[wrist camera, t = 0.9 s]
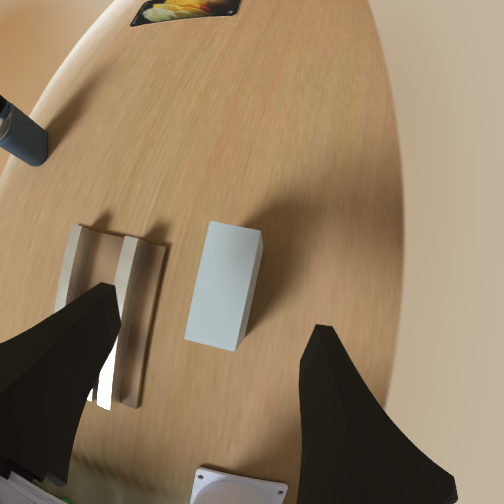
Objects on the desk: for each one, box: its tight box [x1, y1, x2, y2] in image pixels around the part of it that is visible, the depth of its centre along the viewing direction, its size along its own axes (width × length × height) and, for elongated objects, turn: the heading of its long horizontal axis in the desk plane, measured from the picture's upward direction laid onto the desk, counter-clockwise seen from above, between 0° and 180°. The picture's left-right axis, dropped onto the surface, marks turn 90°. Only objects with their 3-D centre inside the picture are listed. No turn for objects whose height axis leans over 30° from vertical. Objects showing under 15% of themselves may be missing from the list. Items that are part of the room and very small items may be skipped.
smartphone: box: [130, 0, 241, 28], centre depth 29 cm, size 7×1×15 cm
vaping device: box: [0, 95, 48, 166], centre depth 20 cm, size 3×5×12 cm, turn 20°
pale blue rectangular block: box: [184, 221, 263, 352], centre depth 20 cm, size 7×3×6 cm, turn 168°
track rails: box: [54, 224, 148, 410], centre depth 21 cm, size 14×7×2 cm, turn 168°
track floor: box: [80, 231, 168, 409], centre depth 22 cm, size 14×10×1 cm
